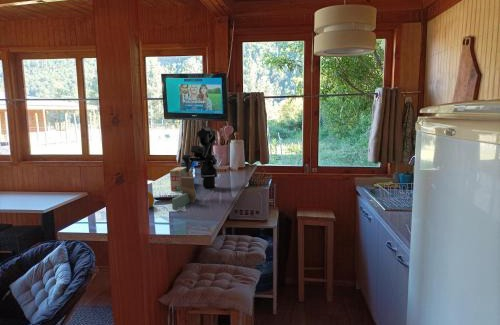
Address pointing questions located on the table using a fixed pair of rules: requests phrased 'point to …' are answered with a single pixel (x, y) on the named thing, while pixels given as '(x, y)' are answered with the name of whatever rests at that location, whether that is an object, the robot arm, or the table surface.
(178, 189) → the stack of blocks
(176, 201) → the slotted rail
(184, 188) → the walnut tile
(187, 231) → the table surface
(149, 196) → the fruit
